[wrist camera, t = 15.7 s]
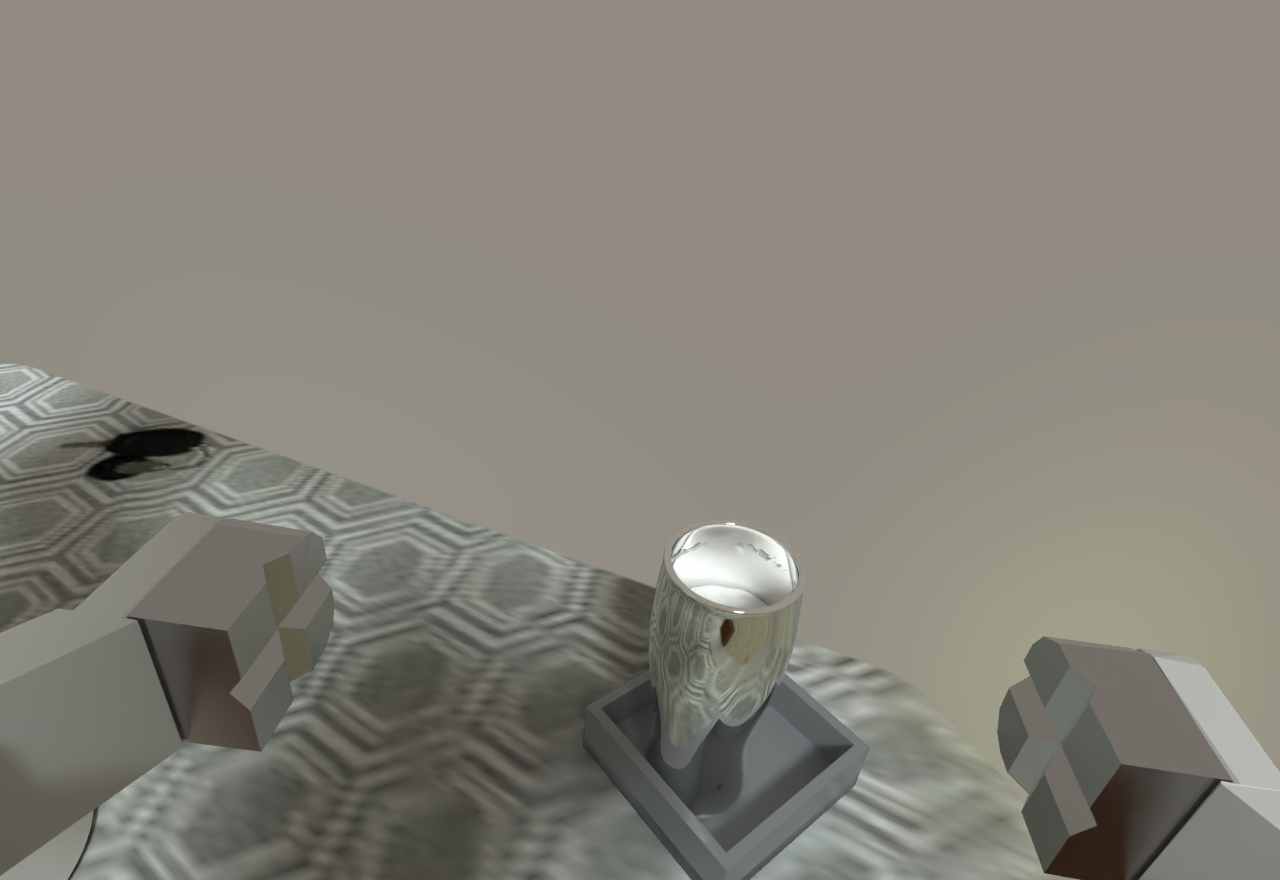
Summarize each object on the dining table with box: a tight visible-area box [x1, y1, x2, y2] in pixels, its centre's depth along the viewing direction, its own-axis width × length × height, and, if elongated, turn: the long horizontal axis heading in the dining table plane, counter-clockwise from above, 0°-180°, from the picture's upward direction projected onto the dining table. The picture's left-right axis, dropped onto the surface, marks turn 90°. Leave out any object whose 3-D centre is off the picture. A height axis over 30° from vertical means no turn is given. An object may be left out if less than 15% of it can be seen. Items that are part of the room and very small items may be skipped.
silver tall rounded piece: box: [640, 519, 806, 819], centre depth 37 cm, size 7×7×15 cm
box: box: [583, 669, 870, 880], centre depth 42 cm, size 11×11×4 cm
